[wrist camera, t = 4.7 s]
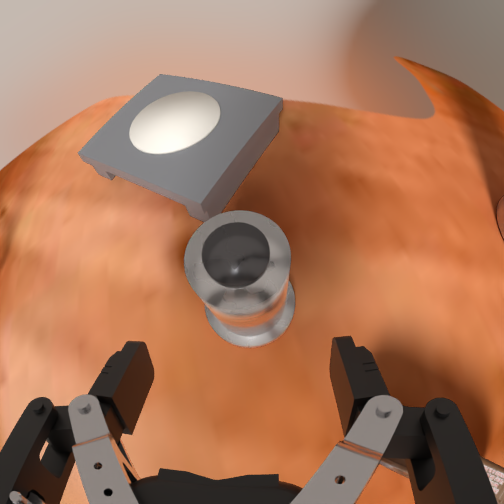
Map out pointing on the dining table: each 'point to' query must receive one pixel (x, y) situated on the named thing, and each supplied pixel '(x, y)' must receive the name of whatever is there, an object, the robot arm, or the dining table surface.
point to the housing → (242, 277)
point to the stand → (187, 140)
